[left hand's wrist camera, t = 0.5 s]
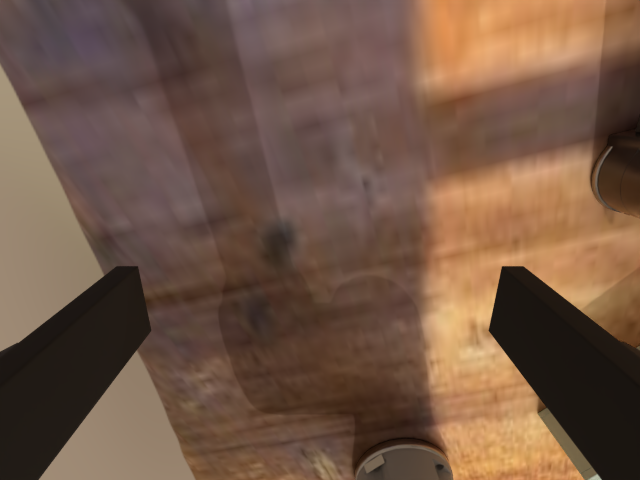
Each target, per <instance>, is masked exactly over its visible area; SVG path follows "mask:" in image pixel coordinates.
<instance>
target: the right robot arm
mask: <svg viewBox="0 0 640 480" xmlns="http://www.w3.org/2000/svg"><path fill="white" fill-rule="evenodd" d="M592 189H593V193H594V195H595V197H596V199H597V200H598V201H599V202H600V203H601V204H602V205H603V206H605V207H606V208H608V209H611V210H614V211H617V212H622V213H624V214H627V215H631V216H634V217H637V218H640V116H639V120H638V123H637V127H636V128H635V129H632V130H628V131H624V132H620V133H615V134H611V135H610V136H609V138H608V145H607V147H606V148H605V150H604V151H603V152H602V154H601V155H600V157H599V158H598V160H597V162H596V164H595V167H594V170H593V174H592Z"/></svg>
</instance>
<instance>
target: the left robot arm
mask: <svg viewBox="0 0 640 480" xmlns="http://www.w3.org/2000/svg"><path fill="white" fill-rule="evenodd" d="M150 332H151V327H150V322H149V317H148V313H147V308H146V303H145V298H144V293H143V289H142V284H141V279H140V274H139V269H138V266H117V267H115V268H114V269H113V270H111V271H110V272H109V273H108V274H106V275H105V276H104V277H102V278H101V279H100V280H99V281H97V282H96V283H95V284H93V285H92V286H91V287H90V288H88V289H87V290H86V291H84V292H83V293H82V294H81V295H79V296H78V297H77V298H76V299H74V300H73V301H72V302H70V303H69V304H68V305H67V306H65V307H64V308H63V309H62V310H60V311H59V312H58V313H56V314H55V315H54V316H52V317H51V318H50V319H49V320H47V321H46V322H45V323H43V324H42V325H41V326H40V327H38V328H37V329H36V330H35V331H33V332H32V333H31V334H29V335H28V336H27V337H26V338H24V339H23V340H22V341H20V342H19V343H16V344H14V345H12V346H10V347H8V348H6V349H5V350H3V351H1V352H0V480H39V478H40V477H41V476H42V474H43V473H44V472H45V470H46V469H47V468H48V466H49V465H50V464H51V462H52V461H53V460H54V459H55V457H56V456H57V455H58V453H59V452H60V451H61V449H62V448H63V447H64V445H65V444H66V443H67V441H68V440H69V439H70V437H71V436H72V435H73V433H74V432H75V431H76V429H77V428H78V427H79V425H80V424H81V423H82V422H83V420H84V419H85V418H86V416H87V415H88V414H89V412H90V411H91V410H92V408H93V407H94V406H95V404H96V403H97V402H98V400H99V399H100V398H101V396H102V395H103V394H104V392H105V391H106V390H107V388H108V387H109V386H110V385H111V383H112V382H113V381H114V379H115V378H116V377H117V375H118V374H119V373H120V371H121V370H122V369H123V367H124V366H125V365H126V363H127V362H128V361H129V359H130V358H131V357H132V355H133V354H134V353H135V351H136V350H137V349H138V348H139V346H140V345H141V344H142V342H143V341H144V340H145V338H146V337H147V336H148V334H149V333H150ZM489 332H490V333H491V334H492V336H493V337H494V338H495V340H496V341H497V342H498V344H499V345H500V346H501V348H502V349H503V350H504V351H505V353H506V354H507V355H508V357H509V358H510V359H511V361H512V362H513V363H514V365H515V366H516V367H517V369H518V370H519V371H520V373H521V374H522V375H523V377H524V378H525V379H526V381H527V382H528V383H529V385H530V386H531V387H532V388H533V390H534V391H535V392H536V394H537V395H538V396H539V398H540V399H541V400H542V402H543V403H544V404H545V406H546V407H547V408H548V410H549V411H550V412H551V414H552V415H553V416H554V418H555V419H556V420H557V422H558V423H559V424H560V425H561V427H562V428H563V429H564V431H565V432H566V433H567V435H568V436H569V437H570V439H571V440H572V441H573V443H574V444H575V445H576V447H577V448H578V449H579V451H580V452H581V453H582V455H583V456H584V457H585V459H586V460H587V461H588V462H589V464H590V465H591V466H592V468H593V469H594V470H595V472H596V473H597V474H598V476H599V477H600V478H601V480H640V350H638V349H636V348H635V347H633V346H631V345H629V344H627V343H625V342H620V341H618V340H617V339H616V338H614V337H613V336H612V335H611V334H609V333H608V332H607V331H605V330H604V329H603V328H602V327H600V326H599V325H598V324H597V323H595V322H594V321H593V320H591V319H590V318H589V317H588V316H586V315H585V314H584V313H582V312H581V311H580V310H579V309H577V308H576V307H575V306H573V305H572V304H571V303H570V302H568V301H567V300H566V299H564V298H563V297H562V296H561V295H559V294H558V293H557V292H556V291H554V290H553V289H552V288H550V287H549V286H548V285H547V284H545V283H544V282H543V281H541V280H540V279H539V278H538V277H536V276H535V275H534V274H532V273H531V272H530V271H529V270H527V269H526V268H525V267H523V266H502V269H501V274H500V279H499V284H498V289H497V293H496V298H495V303H494V308H493V313H492V317H491V322H490V327H489ZM355 480H453V474H452V470H451V467H450V465H449V462H448V459H447V457H446V456H445V454H444V453H443V452H442V451H441V450H440V449H439V448H437V447H436V446H434V445H433V444H430V443H428V442H425V441H422V440H417V439H395V440H390V441H386V442H383V443H381V444H378V445H376V446H374V447H373V448H371V449H370V450H368V451H367V452H366V453H365V454H364V455H363V456H362V457H361V458H360V460H359V461H358V463H357V465H356V468H355Z"/></svg>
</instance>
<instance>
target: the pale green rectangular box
mask: <svg viewBox="0 0 640 480" xmlns="http://www.w3.org/2000/svg"><path fill="white" fill-rule="evenodd" d="M636 349H638V350H640V346H638V347H637V348H636ZM538 415H539V416H540V418H541V419H542V420H543V422H544V423H545V425H546V426H547V427H548V429H549V430H550V432H551V433H552V434H553V436H554V437H555V439H556V440H557V442H558V443H559V444H560V446H561V447H562V449H563V450H564V451H565V453H566V454H567V456H568V457H569V458H570V460H571V461H572V463H573V464H574V465H575V467H576V468H577V470H578V471H579V472H580V474H581V475H582V477H583V478H584V479H585V480H601V478H600V477H599V476H598V474H597V473H596V472H595V470H594V469H593V468H592V466H591V465H590V464H589V462H588V461H587V460H586V459H585V457H584V456H583V455H582V453H581V452H580V451H579V449H578V448H577V447H576V445H575V444H574V443H573V441H572V440H571V439H570V437H569V436H568V435H567V433H566V432H565V431H564V429H563V428H562V427H561V425H560V424H559V423H558V422H557V420H556V419H555V418H554V416H553V415H552V414H551V412H550V411H549V410H548V408H545V409H544V410H542V411H541V412H539V413H538Z"/></svg>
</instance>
